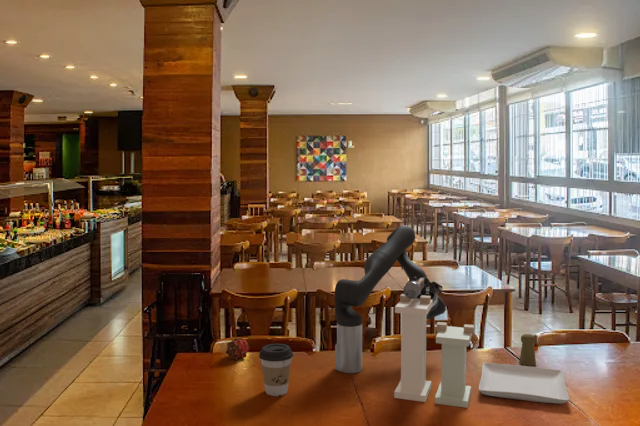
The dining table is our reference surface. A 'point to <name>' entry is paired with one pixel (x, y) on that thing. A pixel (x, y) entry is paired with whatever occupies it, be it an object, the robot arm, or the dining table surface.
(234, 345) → the dragon fruit
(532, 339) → the olive pepper mill
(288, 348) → the coffee cup
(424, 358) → the tall stand
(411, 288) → the grey bulb-ended bar
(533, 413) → the dining table surface
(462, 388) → the low stand
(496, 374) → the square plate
